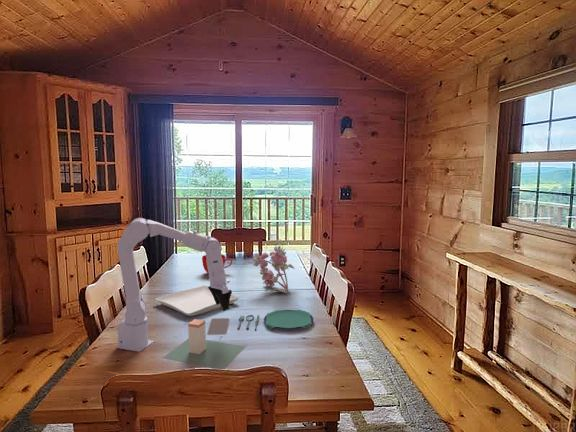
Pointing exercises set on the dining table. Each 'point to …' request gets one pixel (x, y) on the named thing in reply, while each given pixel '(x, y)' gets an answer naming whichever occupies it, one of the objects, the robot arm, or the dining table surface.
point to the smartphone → (218, 326)
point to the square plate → (193, 301)
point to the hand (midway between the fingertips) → (222, 306)
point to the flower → (277, 263)
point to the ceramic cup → (206, 262)
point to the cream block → (197, 336)
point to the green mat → (207, 354)
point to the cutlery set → (283, 319)
